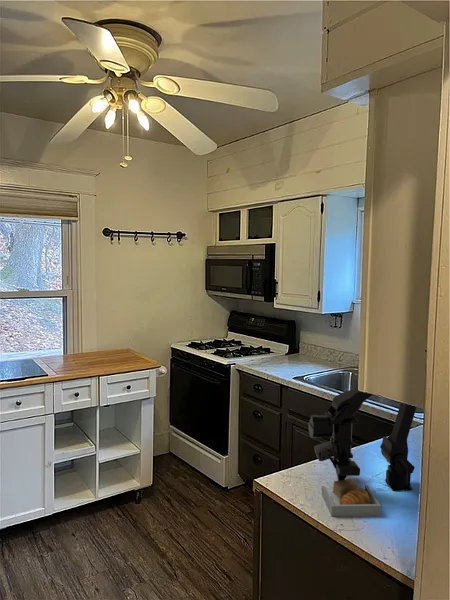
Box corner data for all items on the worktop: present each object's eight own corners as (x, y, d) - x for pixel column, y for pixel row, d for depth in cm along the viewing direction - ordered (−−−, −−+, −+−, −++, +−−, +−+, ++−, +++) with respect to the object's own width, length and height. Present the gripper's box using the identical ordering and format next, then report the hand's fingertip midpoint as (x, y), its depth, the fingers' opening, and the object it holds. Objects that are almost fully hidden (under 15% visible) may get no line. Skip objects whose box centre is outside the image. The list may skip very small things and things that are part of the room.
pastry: (350, 515, 131) (351, 502, 131) (333, 504, 137) (333, 492, 137) (372, 505, 136) (373, 493, 136) (355, 495, 142) (355, 483, 142)
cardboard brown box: (349, 489, 145) (350, 478, 145) (357, 495, 142) (357, 484, 141) (333, 492, 143) (333, 481, 143) (340, 498, 140) (340, 487, 139)
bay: (367, 494, 142) (367, 485, 142) (380, 515, 131) (380, 505, 131) (321, 495, 142) (322, 485, 141) (331, 516, 130) (331, 506, 130)
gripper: (310, 424, 153) (308, 469, 155) (324, 449, 134) (322, 499, 136) (343, 424, 153) (341, 469, 155) (361, 449, 135) (359, 499, 137)
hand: (340, 483), depth 146 cm, fingers closed
